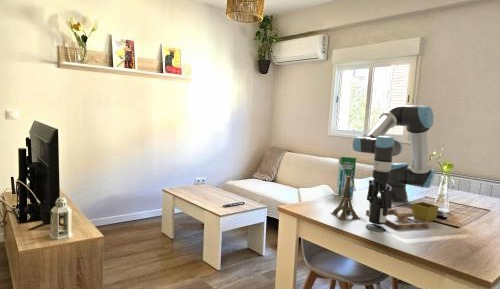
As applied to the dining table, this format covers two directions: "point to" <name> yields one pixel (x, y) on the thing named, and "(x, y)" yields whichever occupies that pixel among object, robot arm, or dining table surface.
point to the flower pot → (424, 211)
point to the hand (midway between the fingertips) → (377, 219)
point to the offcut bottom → (403, 222)
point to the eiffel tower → (346, 203)
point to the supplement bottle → (375, 211)
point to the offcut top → (402, 214)
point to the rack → (403, 226)
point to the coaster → (375, 228)
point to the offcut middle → (402, 219)
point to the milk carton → (345, 174)
